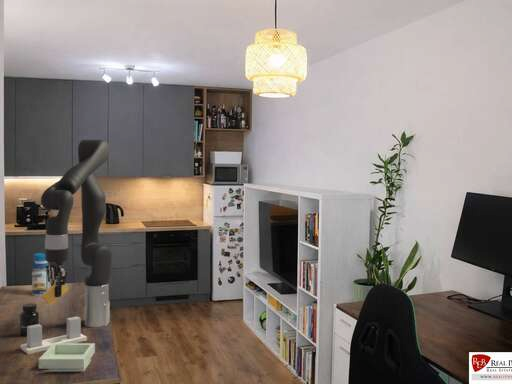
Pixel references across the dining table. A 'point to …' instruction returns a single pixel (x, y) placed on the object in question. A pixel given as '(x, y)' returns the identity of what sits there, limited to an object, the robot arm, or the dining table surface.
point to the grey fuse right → (73, 327)
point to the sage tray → (67, 357)
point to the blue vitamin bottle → (39, 275)
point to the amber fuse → (52, 294)
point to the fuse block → (48, 342)
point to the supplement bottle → (28, 318)
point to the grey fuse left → (34, 336)
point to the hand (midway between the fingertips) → (56, 295)
